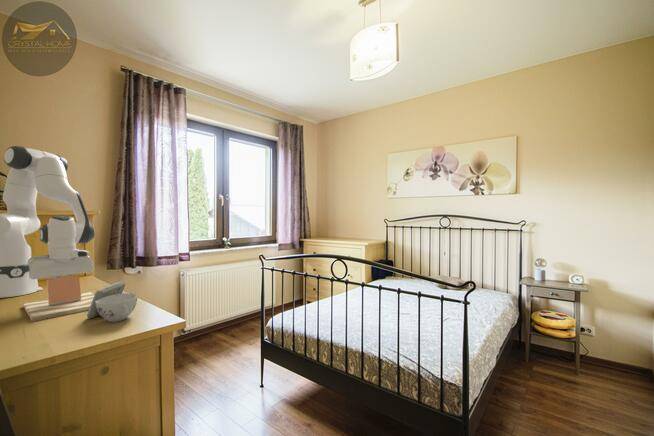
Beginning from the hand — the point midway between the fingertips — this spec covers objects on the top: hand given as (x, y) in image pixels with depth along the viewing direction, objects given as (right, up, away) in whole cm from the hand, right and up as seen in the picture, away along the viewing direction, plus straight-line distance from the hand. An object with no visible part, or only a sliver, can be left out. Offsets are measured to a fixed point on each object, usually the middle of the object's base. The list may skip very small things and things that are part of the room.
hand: (63, 285), depth 123 cm
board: (+4, -8, -3) cm, 9 cm away
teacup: (+37, -9, -18) cm, 42 cm away
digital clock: (+26, -8, -9) cm, 29 cm away
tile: (+2, -2, -2) cm, 3 cm away
